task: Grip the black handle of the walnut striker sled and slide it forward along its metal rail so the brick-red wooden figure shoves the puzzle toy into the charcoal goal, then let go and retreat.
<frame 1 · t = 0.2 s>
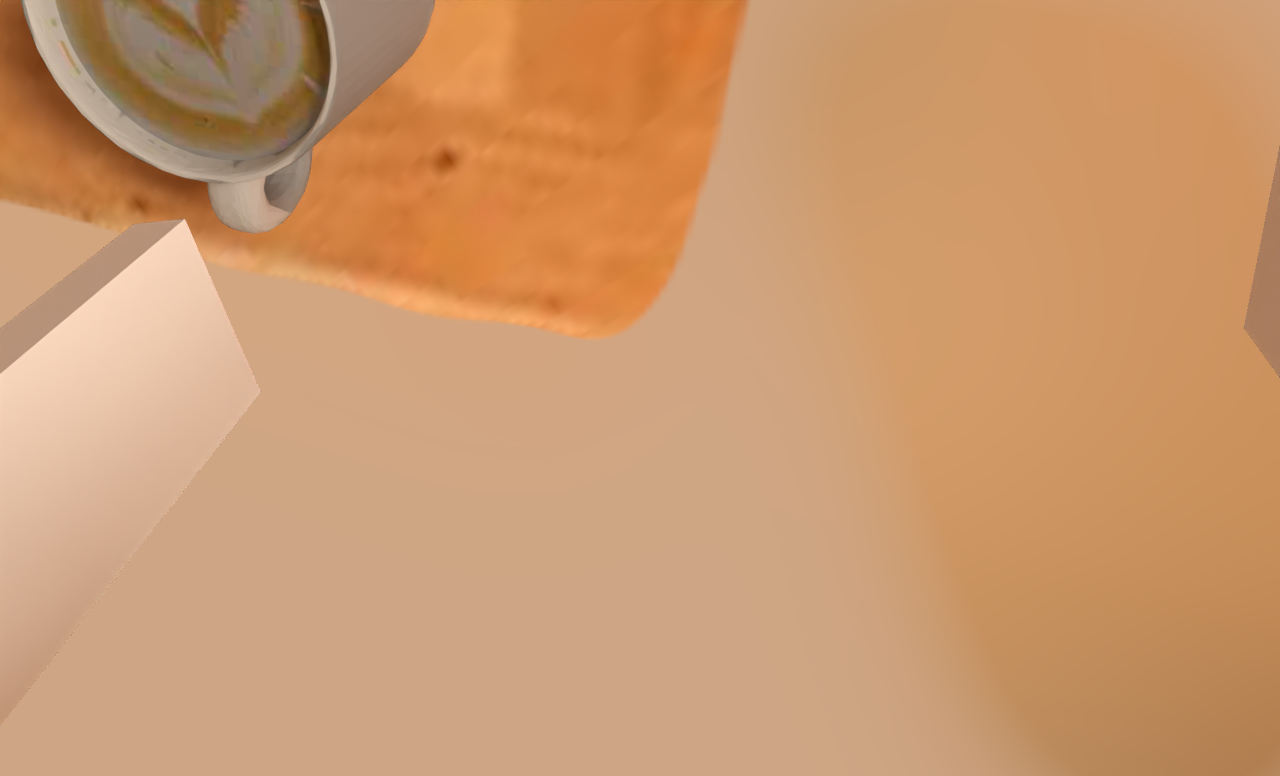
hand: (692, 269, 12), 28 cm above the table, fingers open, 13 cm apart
coffee mug: (306, 3, 39), on the table
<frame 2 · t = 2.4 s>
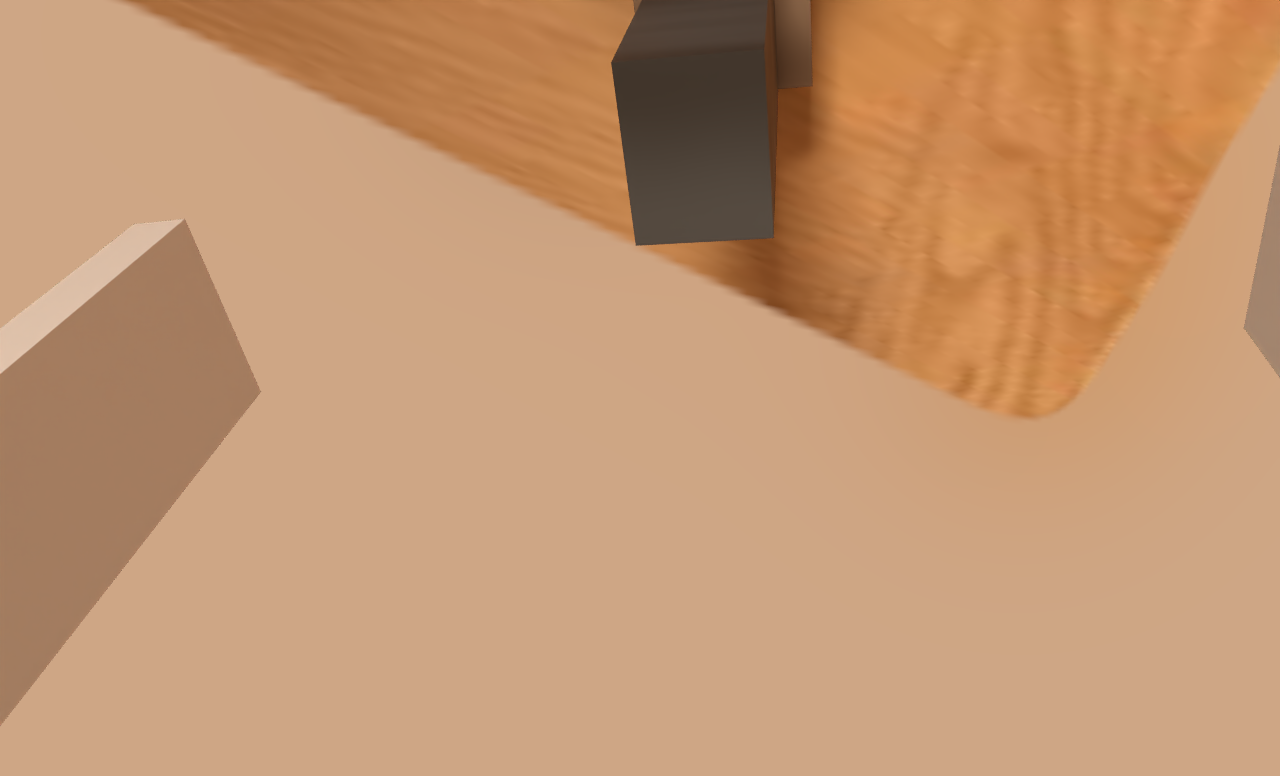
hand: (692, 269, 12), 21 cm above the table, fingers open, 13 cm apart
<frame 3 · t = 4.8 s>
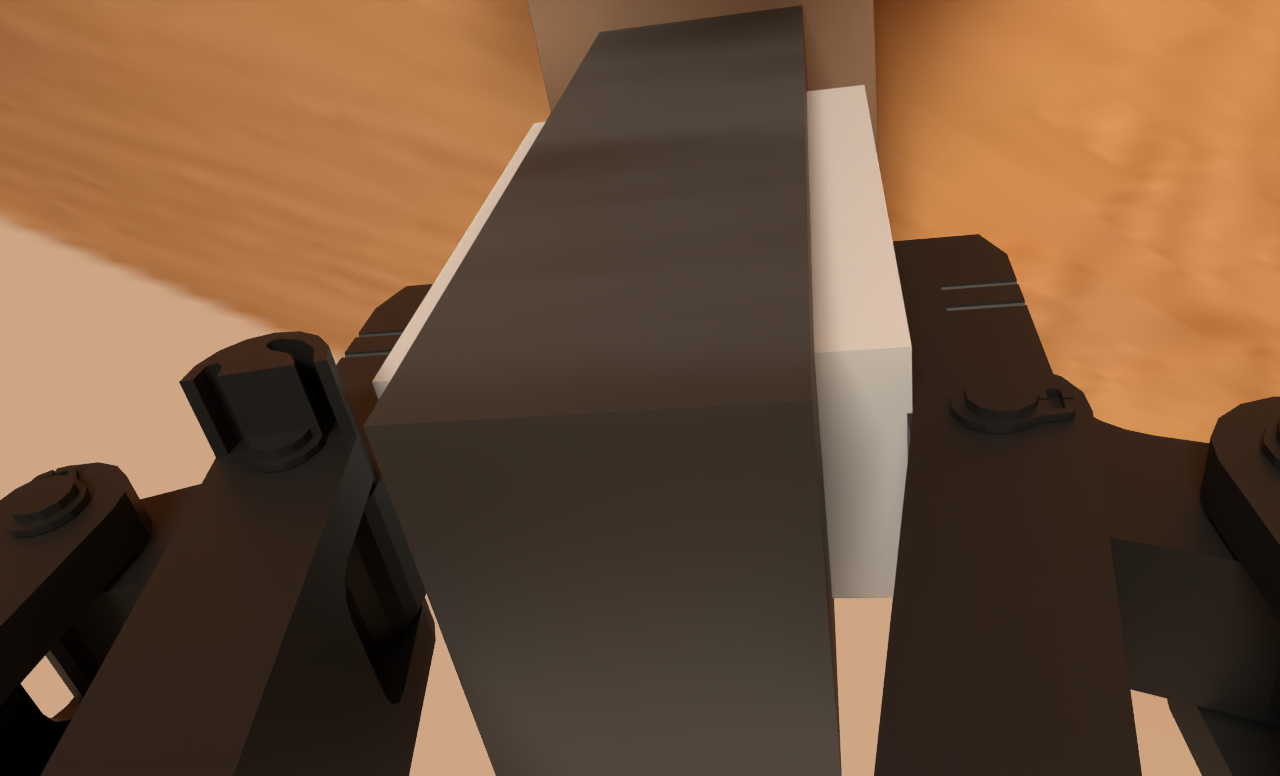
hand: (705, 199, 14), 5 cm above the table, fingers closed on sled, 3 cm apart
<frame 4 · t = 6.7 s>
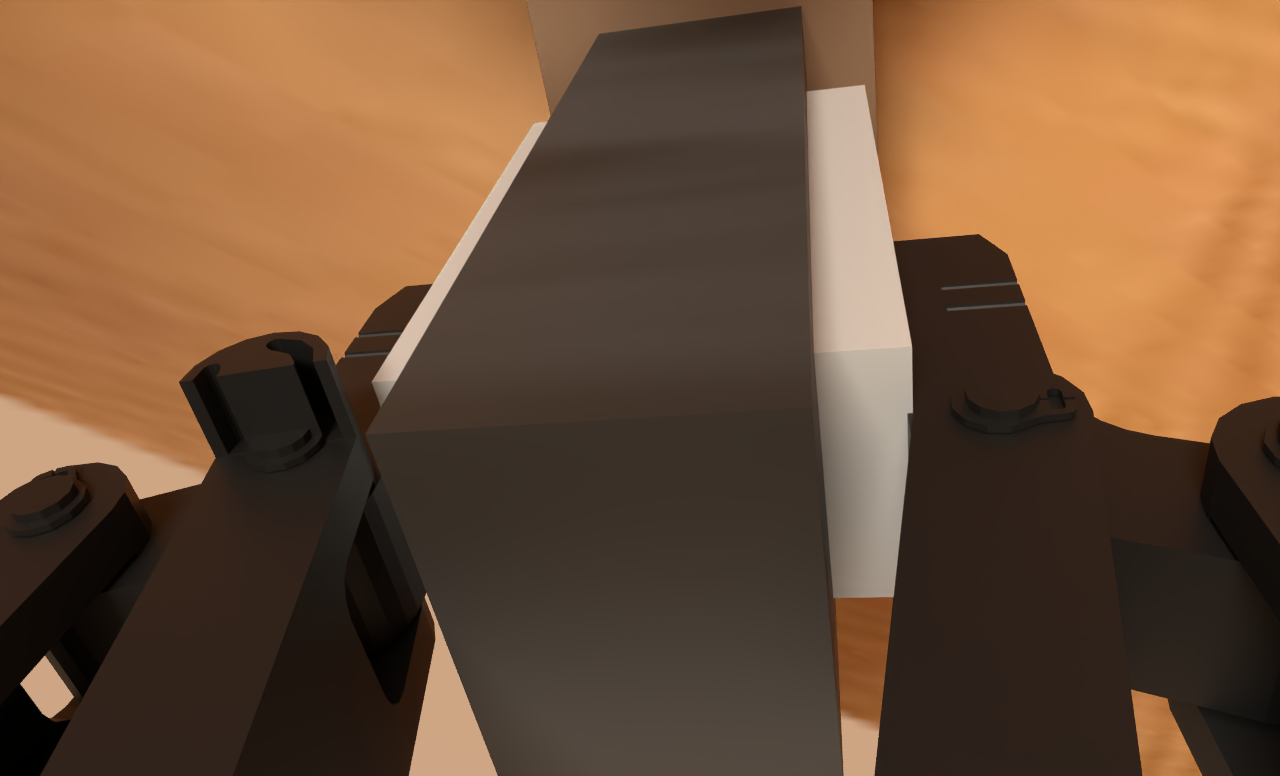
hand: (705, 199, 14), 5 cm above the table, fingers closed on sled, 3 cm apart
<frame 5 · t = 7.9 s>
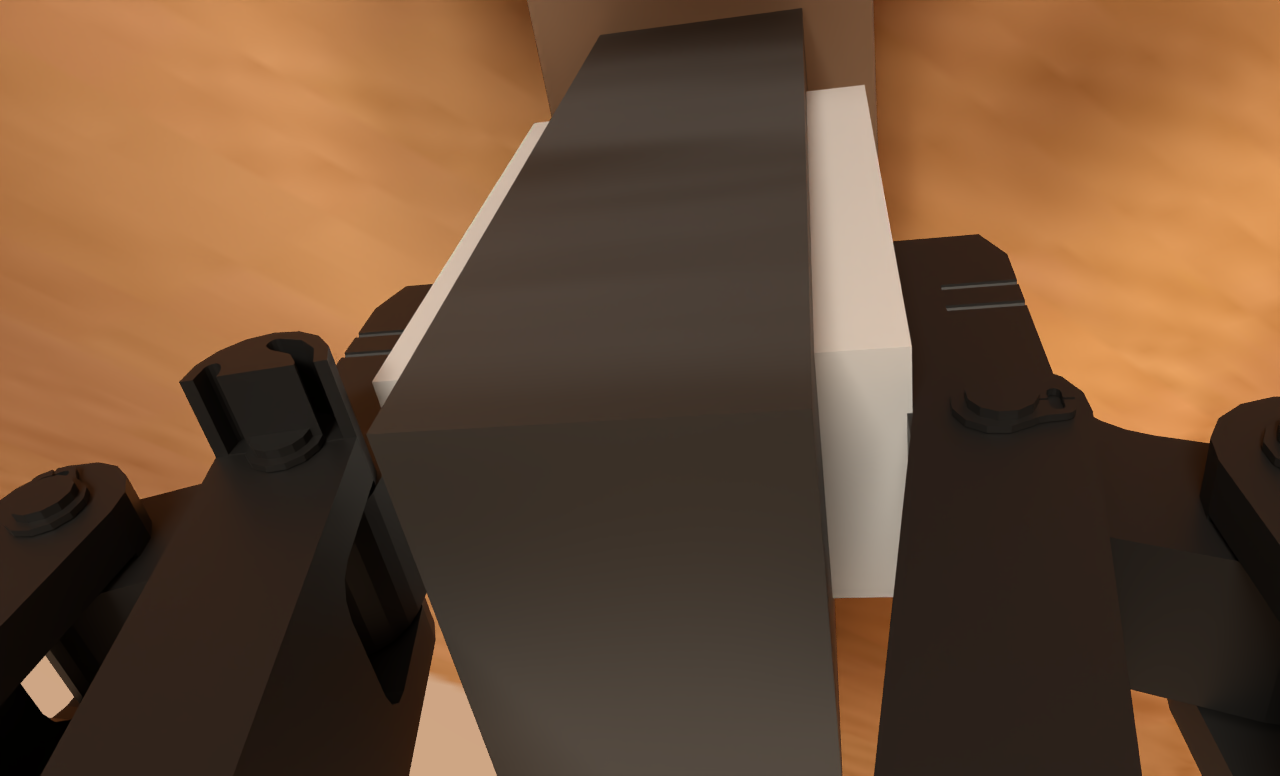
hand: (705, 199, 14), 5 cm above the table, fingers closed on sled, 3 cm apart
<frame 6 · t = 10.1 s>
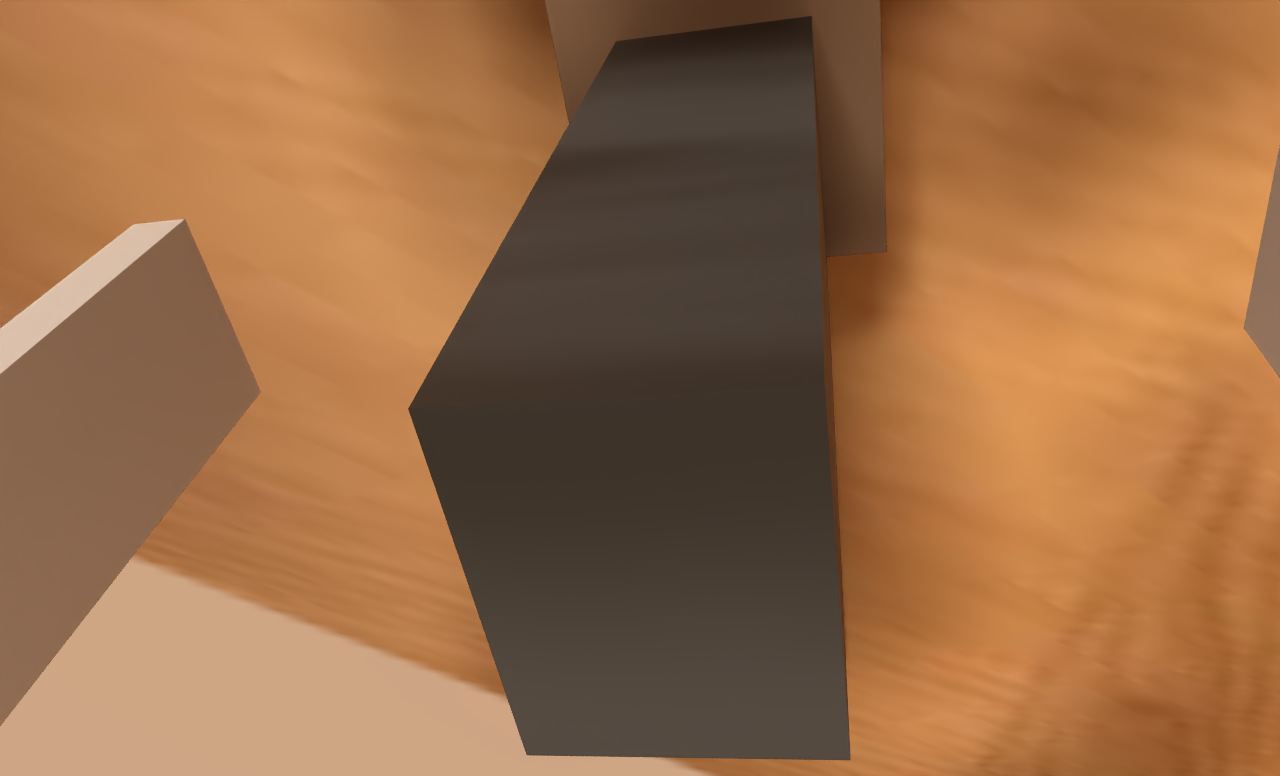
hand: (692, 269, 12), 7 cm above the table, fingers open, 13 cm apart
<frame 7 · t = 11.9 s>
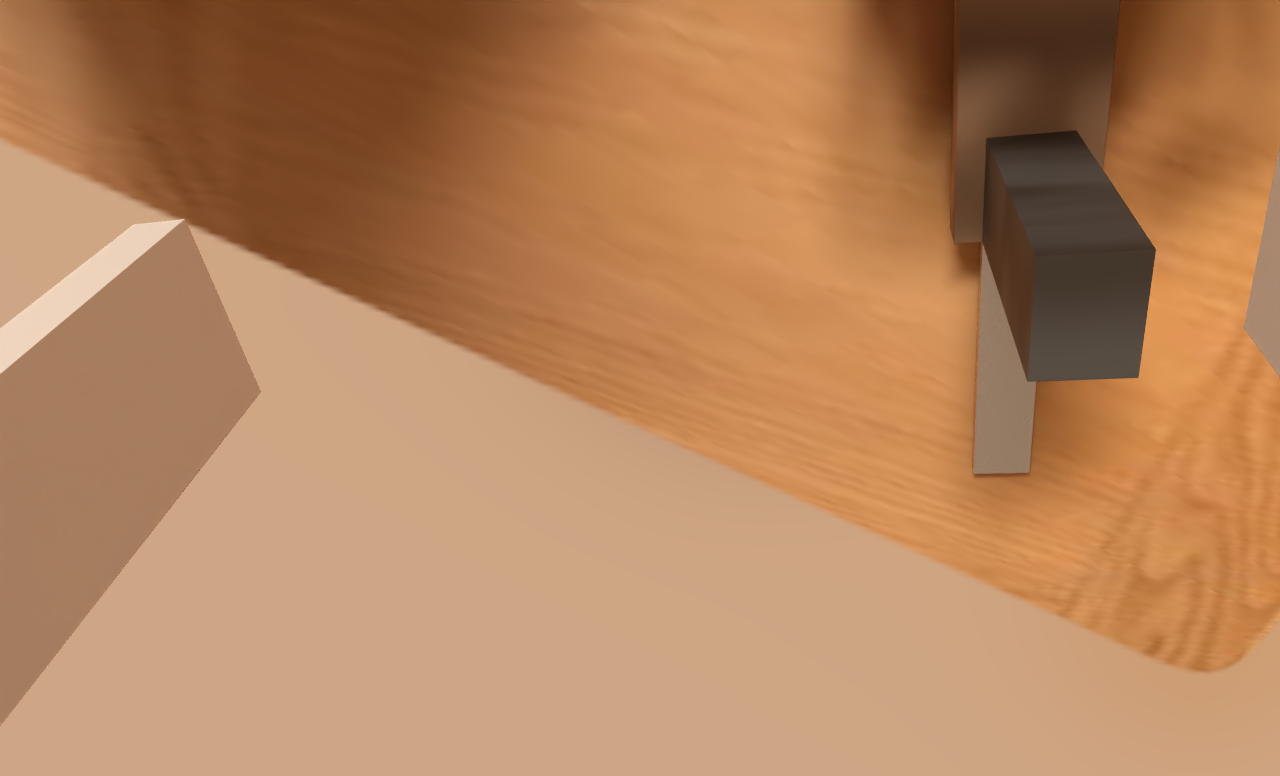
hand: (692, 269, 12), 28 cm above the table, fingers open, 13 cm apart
rail: (1008, 299, 41), on the table
sled: (1060, 88, 30), point 7 cm above the table, slide at 11.4 cm
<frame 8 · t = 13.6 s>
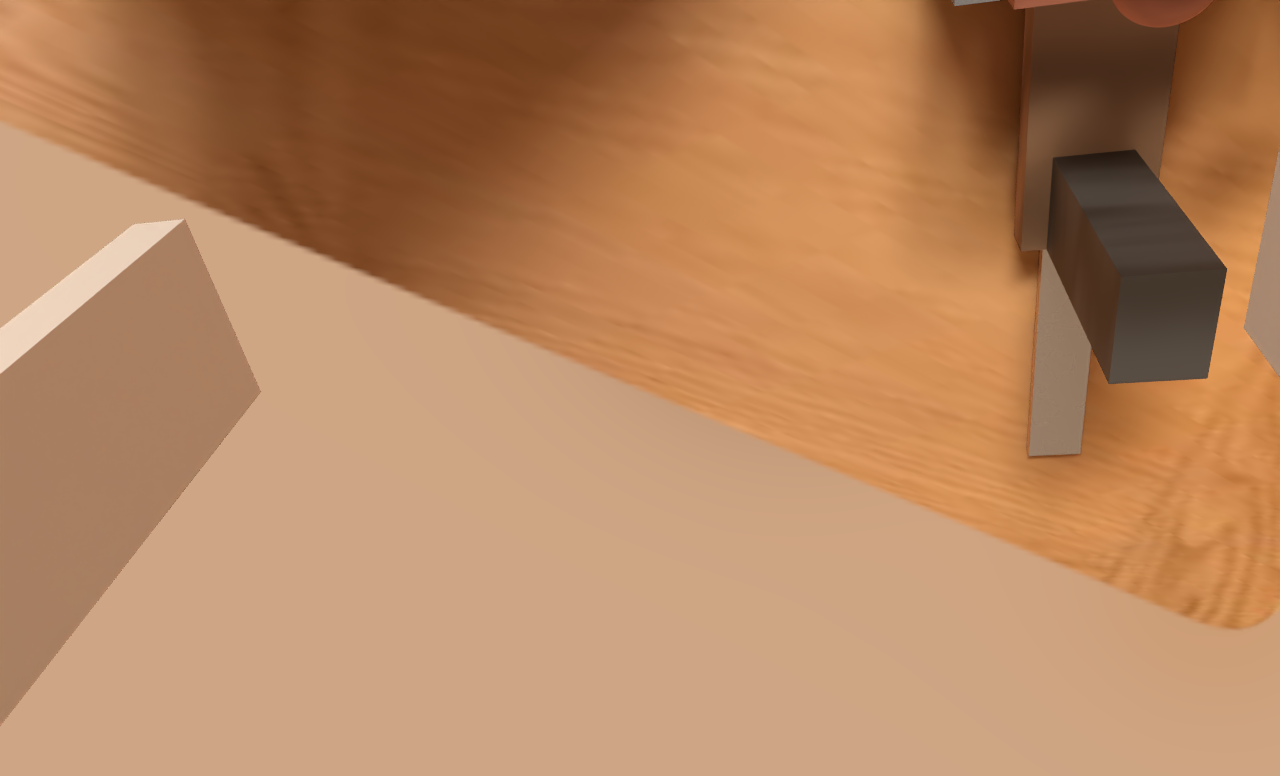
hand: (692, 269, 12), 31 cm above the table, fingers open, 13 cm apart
rail: (1064, 298, 45), on the table
sled: (1131, 120, 34), point 7 cm above the table, slide at 11.4 cm
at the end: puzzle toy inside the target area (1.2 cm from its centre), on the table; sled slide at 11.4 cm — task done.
